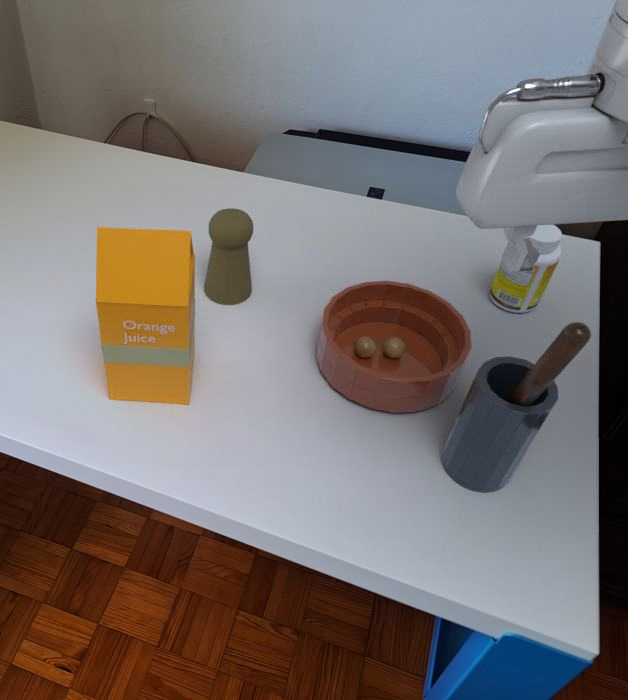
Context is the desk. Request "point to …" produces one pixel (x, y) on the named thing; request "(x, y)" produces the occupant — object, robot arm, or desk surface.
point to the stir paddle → (551, 364)
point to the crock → (494, 426)
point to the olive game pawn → (229, 257)
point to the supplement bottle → (528, 274)
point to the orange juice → (146, 313)
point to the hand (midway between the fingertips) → (581, 262)
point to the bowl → (382, 323)
